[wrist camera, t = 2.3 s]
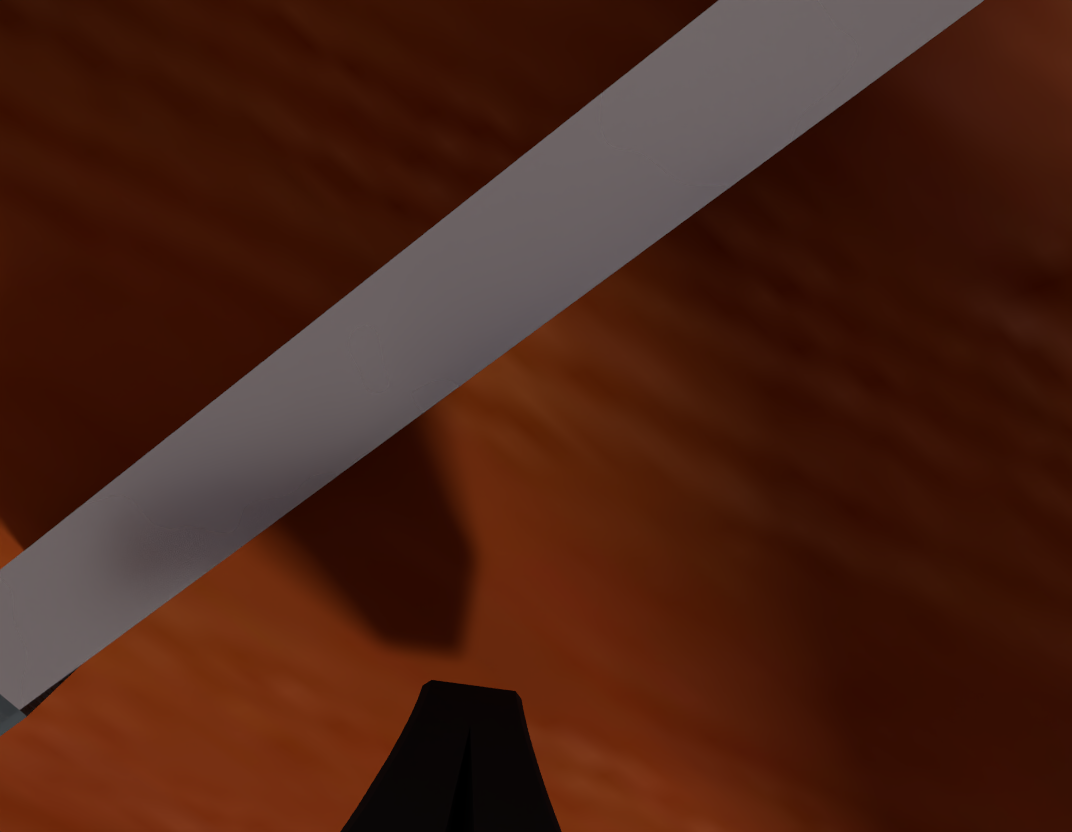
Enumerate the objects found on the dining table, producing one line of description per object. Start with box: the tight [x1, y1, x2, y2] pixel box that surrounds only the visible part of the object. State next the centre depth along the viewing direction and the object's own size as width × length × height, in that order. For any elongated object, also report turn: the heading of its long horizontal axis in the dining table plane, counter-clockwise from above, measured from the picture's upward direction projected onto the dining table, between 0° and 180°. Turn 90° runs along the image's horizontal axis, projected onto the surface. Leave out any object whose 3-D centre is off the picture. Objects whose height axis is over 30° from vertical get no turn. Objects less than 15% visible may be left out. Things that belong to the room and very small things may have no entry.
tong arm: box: [0, 0, 984, 736], centre depth 6 cm, size 16×3×3 cm, turn 126°
